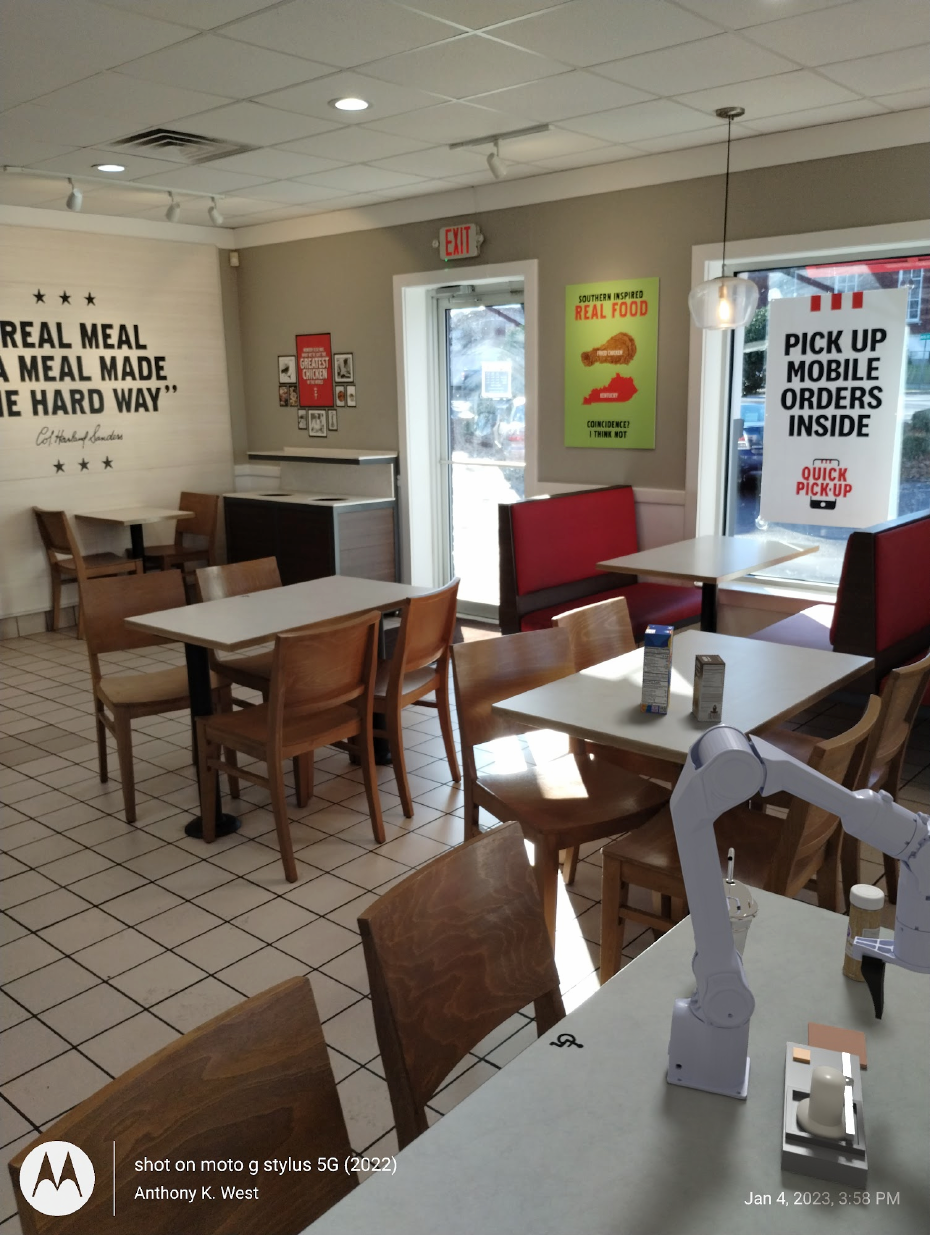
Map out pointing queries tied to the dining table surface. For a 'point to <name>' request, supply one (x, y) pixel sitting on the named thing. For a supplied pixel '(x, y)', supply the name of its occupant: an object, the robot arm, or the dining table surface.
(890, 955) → the robot arm
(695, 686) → the coffee box
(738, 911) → the cup with straw
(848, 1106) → the clip
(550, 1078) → the dining table surface
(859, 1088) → the power strip
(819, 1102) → the plug
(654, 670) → the beverage box
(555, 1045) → the dining table surface
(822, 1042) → the mat
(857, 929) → the sprinkles bottle
